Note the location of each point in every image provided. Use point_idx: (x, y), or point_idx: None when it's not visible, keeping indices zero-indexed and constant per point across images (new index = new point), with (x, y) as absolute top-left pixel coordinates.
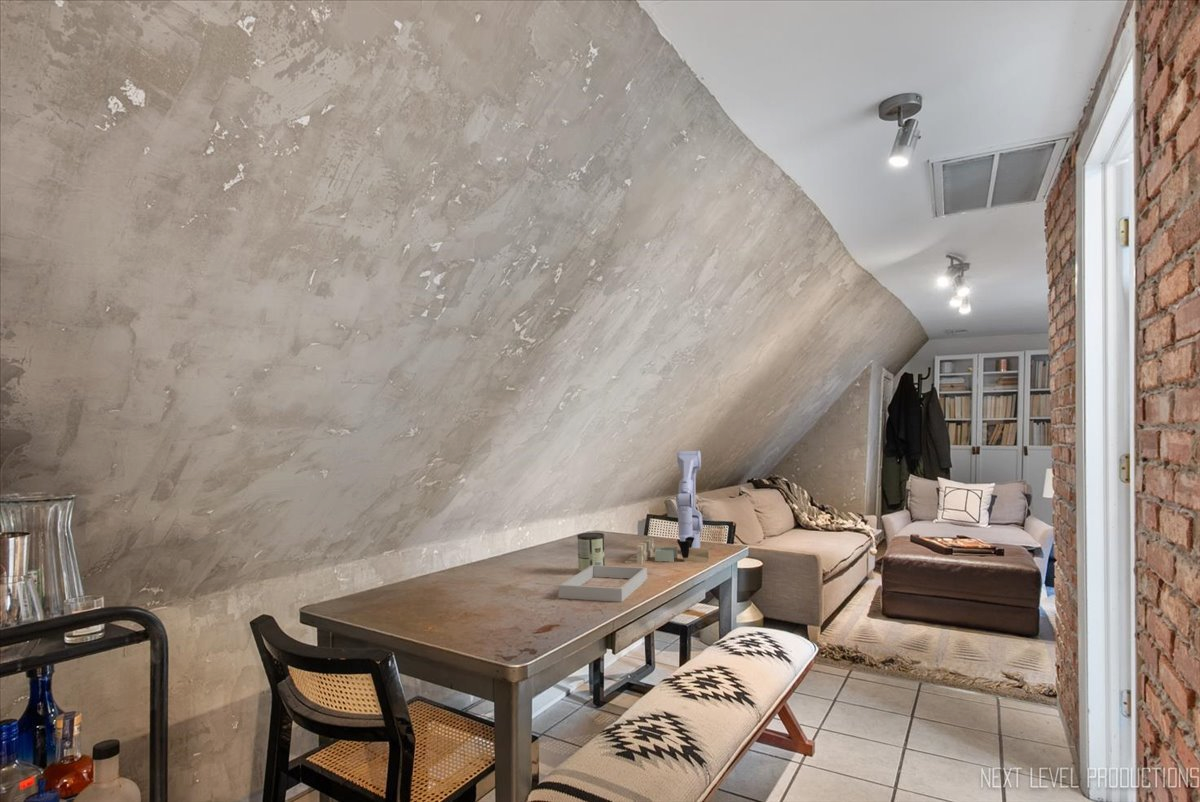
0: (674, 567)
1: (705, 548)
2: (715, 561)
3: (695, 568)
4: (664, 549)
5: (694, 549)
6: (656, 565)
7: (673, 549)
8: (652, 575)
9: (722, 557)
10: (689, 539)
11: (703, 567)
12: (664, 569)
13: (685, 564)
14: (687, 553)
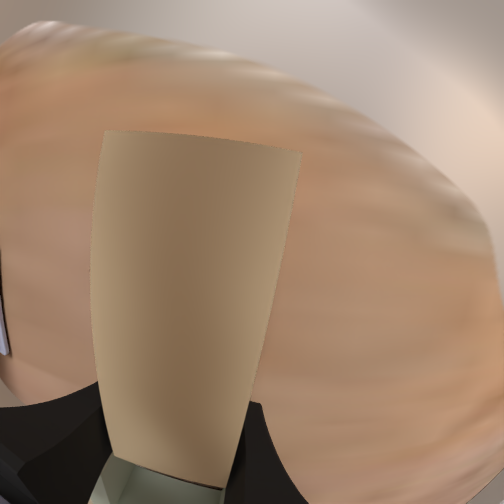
0: (418, 437)
1: (131, 201)
2: (229, 96)
3: (490, 319)
4: (117, 500)
5: (237, 403)
6: (334, 499)
7: (110, 477)
8: (496, 457)
9: (68, 57)
10: (50, 490)
11: (482, 257)
12: (438, 460)
13: (350, 393)
14: (266, 436)
